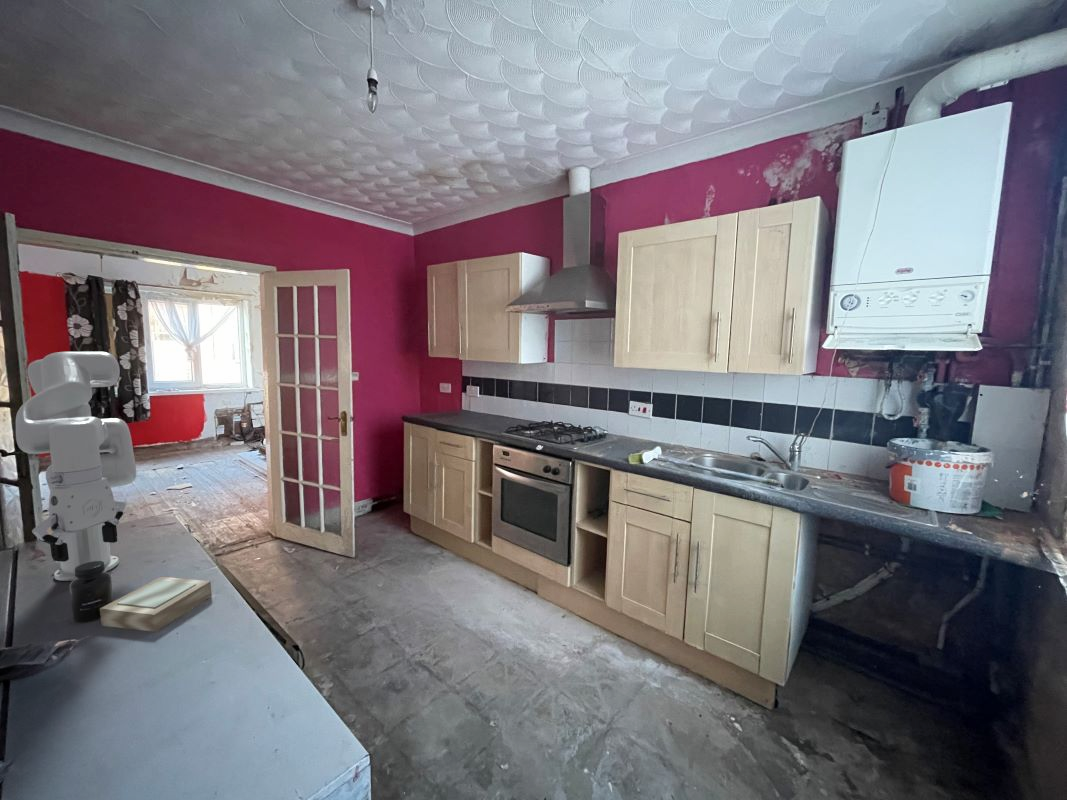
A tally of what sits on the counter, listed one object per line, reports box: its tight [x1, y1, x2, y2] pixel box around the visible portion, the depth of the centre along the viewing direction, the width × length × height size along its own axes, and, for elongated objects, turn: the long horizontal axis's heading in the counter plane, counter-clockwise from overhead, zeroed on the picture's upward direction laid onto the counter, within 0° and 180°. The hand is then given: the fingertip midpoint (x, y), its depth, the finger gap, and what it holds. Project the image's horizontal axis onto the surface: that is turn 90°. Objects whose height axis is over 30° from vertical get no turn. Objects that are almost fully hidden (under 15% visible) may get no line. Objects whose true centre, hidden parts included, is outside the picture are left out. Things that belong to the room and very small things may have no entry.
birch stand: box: [100, 576, 213, 633], centre depth 104 cm, size 14×14×4 cm
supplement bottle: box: [69, 561, 114, 624], centre depth 102 cm, size 7×7×12 cm
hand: (86, 550), depth 100 cm, fingers open, 9 cm apart
